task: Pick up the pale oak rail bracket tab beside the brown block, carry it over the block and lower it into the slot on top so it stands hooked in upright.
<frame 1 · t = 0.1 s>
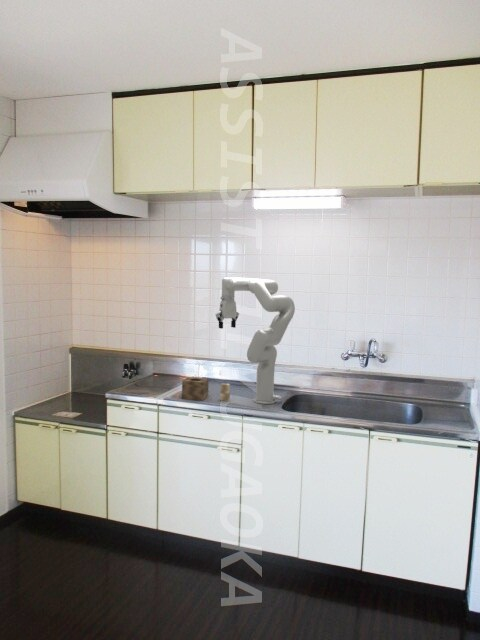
hand: (227, 327, 303), 37 cm above the counter, tool pointing down, fingers open, 9 cm apart
brown block: (195, 397, 286), on the counter
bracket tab: (224, 400, 283), on the counter
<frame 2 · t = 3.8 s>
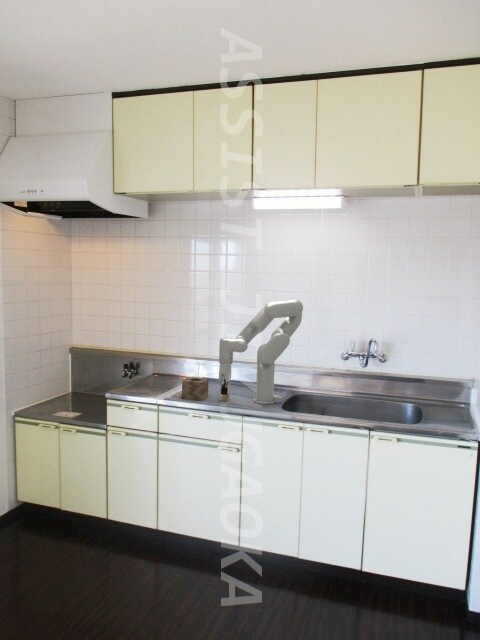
hand: (225, 393, 282), 4 cm above the counter, tool pointing down, fingers closed on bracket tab, 3 cm apart
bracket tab: (224, 400, 283), on the counter, touching gripper
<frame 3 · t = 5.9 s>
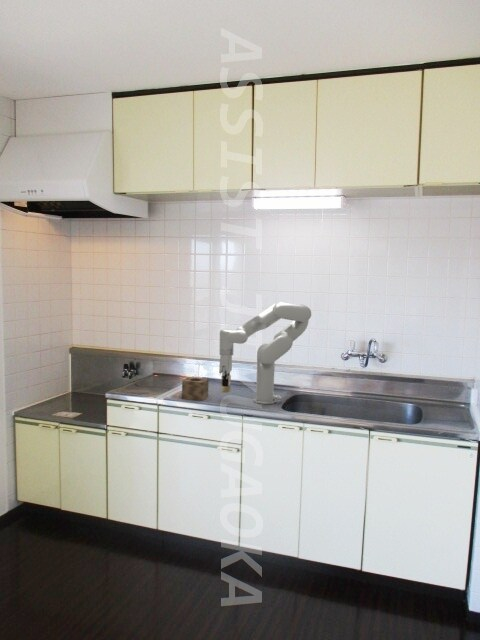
hand: (226, 385, 282), 8 cm above the counter, tool pointing down, fingers closed on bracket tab, 3 cm apart
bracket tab: (225, 391, 282), point 5 cm above the counter, touching gripper
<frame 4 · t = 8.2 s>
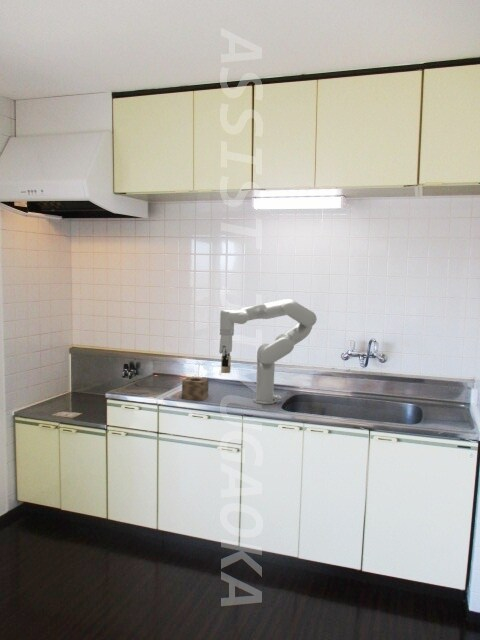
hand: (225, 365, 281), 19 cm above the counter, tool pointing down, fingers closed on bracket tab, 3 cm apart
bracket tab: (225, 372, 281), point 15 cm above the counter, touching gripper
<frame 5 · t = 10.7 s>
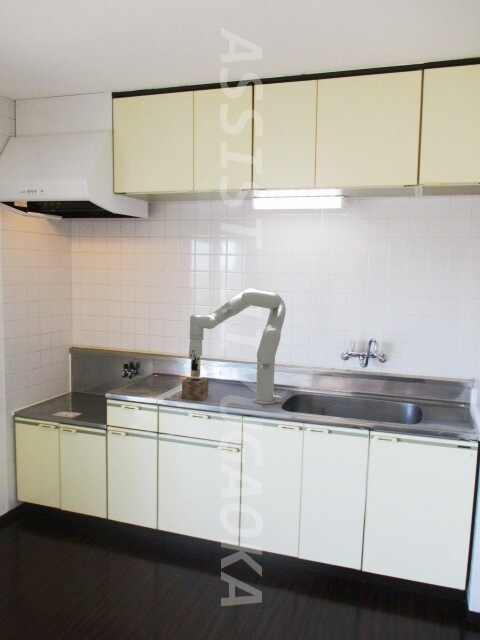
hand: (195, 369, 285), 16 cm above the counter, tool pointing down, fingers closed on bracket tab, 3 cm apart
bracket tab: (195, 376, 285), point 12 cm above the counter, touching gripper
when the fingers open (11 cm above the counter, at t = 12.6 s): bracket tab stays where it is, resting on brown block.
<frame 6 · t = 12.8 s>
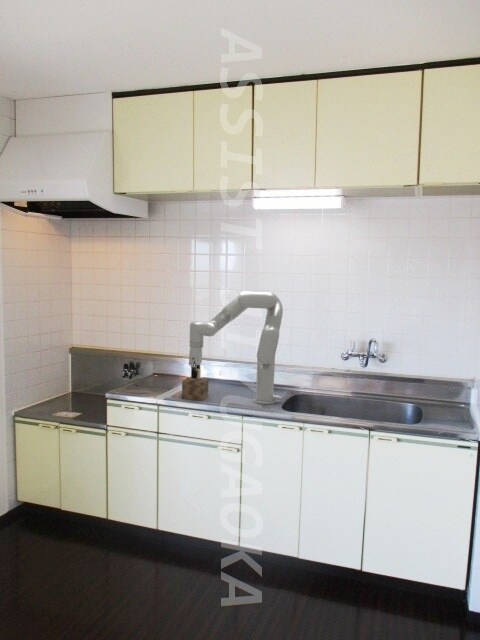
hand: (195, 376, 285), 12 cm above the counter, tool pointing down, fingers open, 5 cm apart
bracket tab: (195, 385, 286), point 7 cm above the counter, touching brown block
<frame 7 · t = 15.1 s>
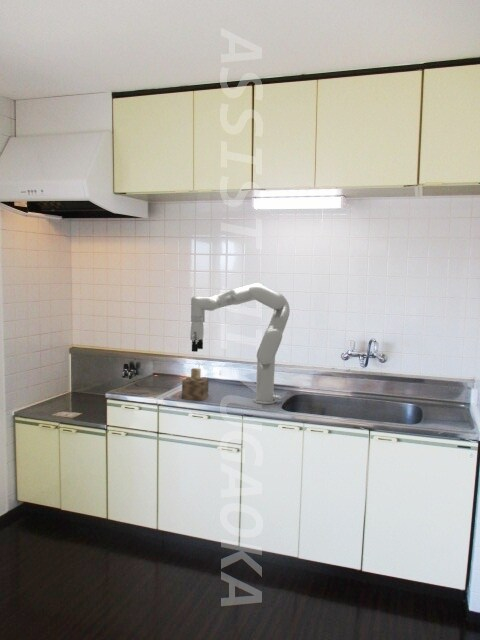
hand: (197, 350, 284), 26 cm above the counter, tool pointing down, fingers open, 9 cm apart
nothing on the counter moved.
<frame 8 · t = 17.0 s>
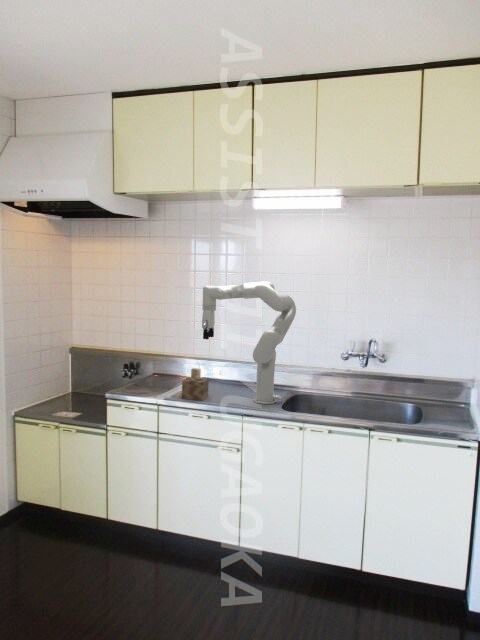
hand: (208, 338, 292), 32 cm above the counter, tool pointing down, fingers open, 9 cm apart
nothing on the counter moved.
at the end: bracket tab 0.1 cm off-centre on the brown block, point 7.0 cm above the brown block's base; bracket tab tilted 0°; the gripper is holding nothing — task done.
